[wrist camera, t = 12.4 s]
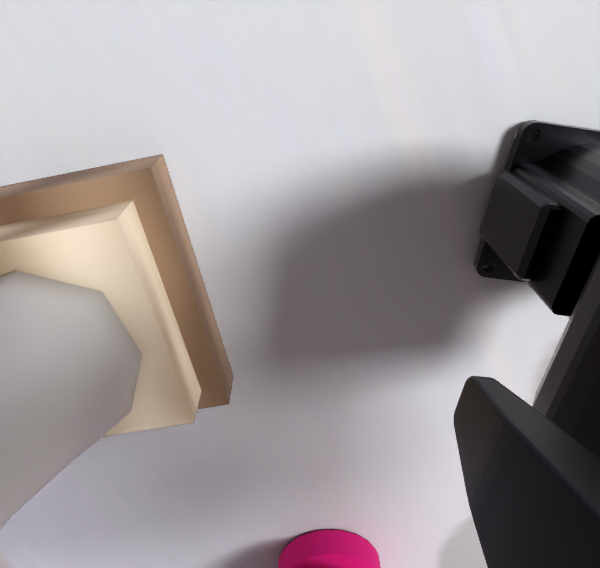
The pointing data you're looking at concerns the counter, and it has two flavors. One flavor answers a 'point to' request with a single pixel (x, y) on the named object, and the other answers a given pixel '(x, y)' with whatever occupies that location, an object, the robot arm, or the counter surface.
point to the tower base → (164, 242)
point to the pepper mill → (329, 551)
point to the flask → (56, 379)
